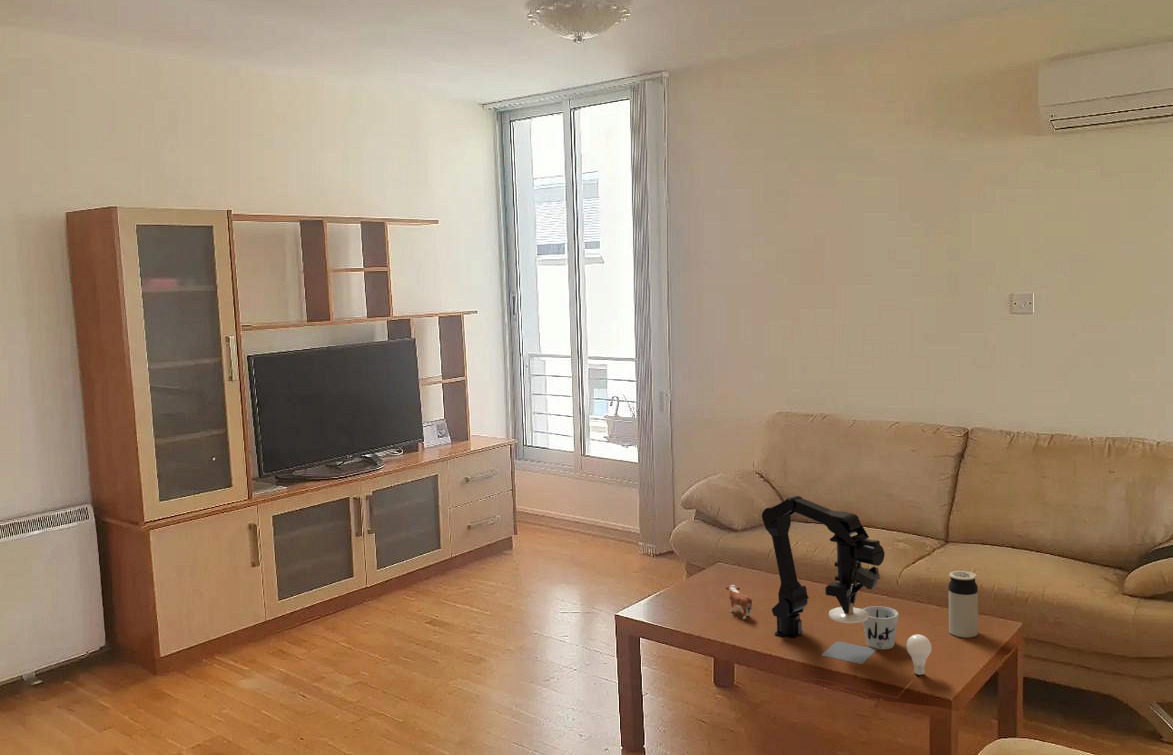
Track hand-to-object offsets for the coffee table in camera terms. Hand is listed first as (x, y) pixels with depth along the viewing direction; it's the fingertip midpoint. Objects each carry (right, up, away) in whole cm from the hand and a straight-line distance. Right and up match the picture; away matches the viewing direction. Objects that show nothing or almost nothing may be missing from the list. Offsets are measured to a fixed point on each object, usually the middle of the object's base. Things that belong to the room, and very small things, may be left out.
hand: (848, 611), depth 262 cm
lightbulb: (+15, -13, -15) cm, 25 cm away
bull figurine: (-25, -10, +37) cm, 46 cm away
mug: (+12, -11, +8) cm, 18 cm away
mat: (+1, -12, +1) cm, 12 cm away
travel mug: (+38, -10, +12) cm, 41 cm away
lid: (0, -1, 0) cm, 1 cm away
